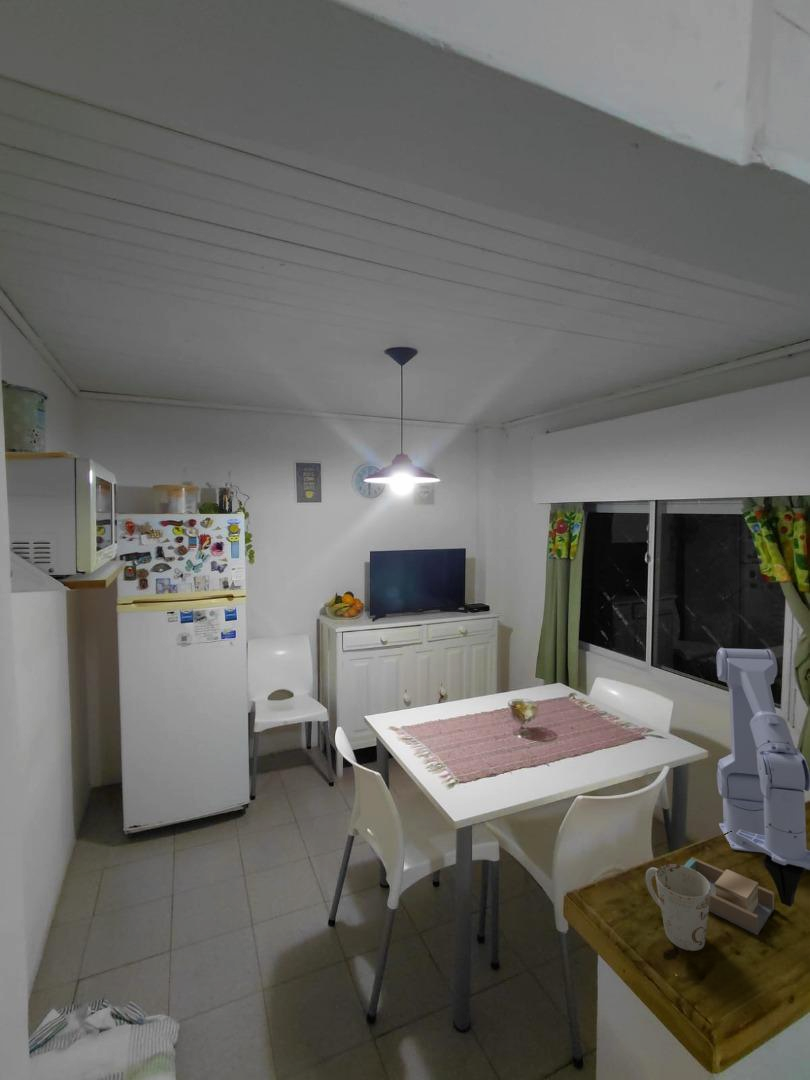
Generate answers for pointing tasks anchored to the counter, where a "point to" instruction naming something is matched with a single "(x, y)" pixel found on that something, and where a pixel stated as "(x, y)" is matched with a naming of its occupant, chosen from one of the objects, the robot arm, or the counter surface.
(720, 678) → the robot arm
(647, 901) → the counter surface
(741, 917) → the bay
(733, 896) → the tan wooden block
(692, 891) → the mug
